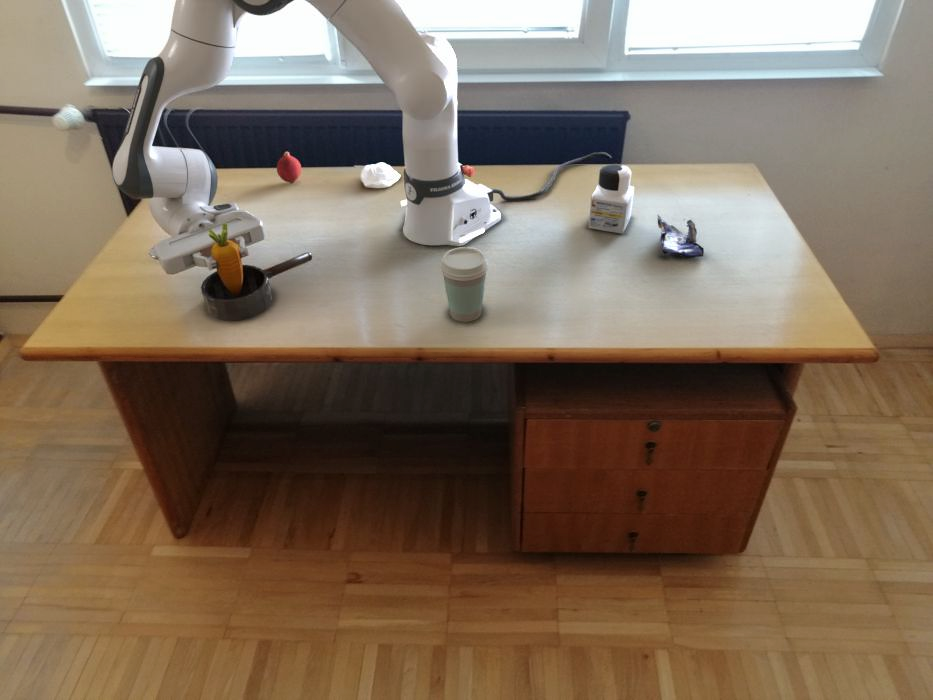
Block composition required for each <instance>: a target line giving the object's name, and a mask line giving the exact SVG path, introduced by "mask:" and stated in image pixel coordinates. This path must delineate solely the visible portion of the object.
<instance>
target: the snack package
mask: <svg viewBox="0 0 933 700" xmlns="http://www.w3.org/2000/svg"><path fill="white" fill-rule="evenodd" d="M676 220H677V221H678V219H676ZM683 221H685V218H684V219H683ZM686 224H687V225H686V227H687V228H688V229H687V234H686V233H683V232H681V231H680V230H679V229H678V228H677V227H676V226H674V224H673V225H672V224H671V225H670V224H669V223H668V222H667V221H665V220H664V219H663V218H662V217H661V216H660V215H659V214H657V226H658V228H659V229H658V230H659V231H660V233H661V235H660V243H661V250H662V254H663V255H667V254H678V255H680V258H682V259H684V258H688V259H691V258H693V259H694V258H697V257H703V256H704V255H705V250H704V247H702V245H700V244H699V243H697V233H698V231H697V228H696V224H695V222H694V221H692V219H689V220H687V221H686ZM663 255H662V257H663V258H665V256H663ZM678 258H679V257H678Z"/></svg>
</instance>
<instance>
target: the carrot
mask: <svg viewBox="0 0 933 700" xmlns="http://www.w3.org/2000/svg"><path fill="white" fill-rule="evenodd" d="M222 224H223V230H222V233H221V235H220V234H218V237H219V238H218V237H217V235H216V234H215V233H214V232H213V231H212V230H209V232H210V233H209V237H211V238H212V239H213V240H214V241H215V242H216V244H214V245H213V247H212V250H211V254H212V257H213V258H214V259H215V260H216V262H217V265H218V267H217V268H215V269H216V271H217V272H218V274H219V276H220V278H221V280H222V281H223V283H224V285H225V286H226V287H227V288H228V289H229V290H230V291H231V292H232V293H233V294H234V295H236V296H238V295H239V294H240V291H241V287H242V282H243V266H242V265H243V260H242V258H241V255H240V251H239V247H238V245H237V244H236V243H234V242H232V241H230V240H227V234H228V232H227V224H226V223H222ZM219 239H220V240H219Z"/></svg>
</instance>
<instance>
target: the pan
mask: <svg viewBox="0 0 933 700" xmlns="http://www.w3.org/2000/svg"><path fill="white" fill-rule="evenodd" d="M242 266H243V282H242V287H241V291H240V294H239V295H238V296H236V295H234V294H233V293H232V292H231V291H230V290H229V289H228V288H227V287H226V286H225V285H224V283H223V281H222V280H221V278H220V276H219V274H218V272H217V270H216V271H214V272H212V273H210V274H209V275H207V276H206V277H205V279H204V280H203V281H202V283H201V287H200V290H201V294H202V297H203V301H204V304H205V307H206V310H207V312H208V314H209V315H210V316H211V317H213V318H214V319H217V320H220V321H225V322H235V321H242V320H243V321H244V320H246V319H250V318H253V317H256V316H257V315H260V314H261V313H262V312H264V311H265V310H266V309H267V308H268V307H269V306H270V304H271V303H272V301H273V294H272V293H273V292H272V289H271V285H270V281H269V279H268V277H267V274H266V272H265V271H263V270H264V269H262V268H261V267H258V266H255V265H249V264H242ZM259 272H260V273H261V274H260V273H259ZM260 275H261V276H262V277H263V278H262V277H260Z"/></svg>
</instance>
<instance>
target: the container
mask: <svg viewBox="0 0 933 700" xmlns="http://www.w3.org/2000/svg"><path fill="white" fill-rule="evenodd" d="M631 178H632V171H631V169H630V168H629V167H628V166H626V165H624V164H620V163H610V164H606V165H603V166H601V168H600V169H599V174H598V184H597V186H596V188H595V189H594V191H593V193H592V195H591V196H590V207H589V217H588V228H589V229H592V230H599V231H603V232H609V233H615V234H620V235H621V234H624V232H625V230H626V228H627V226H628V224H629V222H630V219H631V217H632V210H633V209H632V208H633V202H634V195H635V186H633V185H631V180H632V179H631Z"/></svg>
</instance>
